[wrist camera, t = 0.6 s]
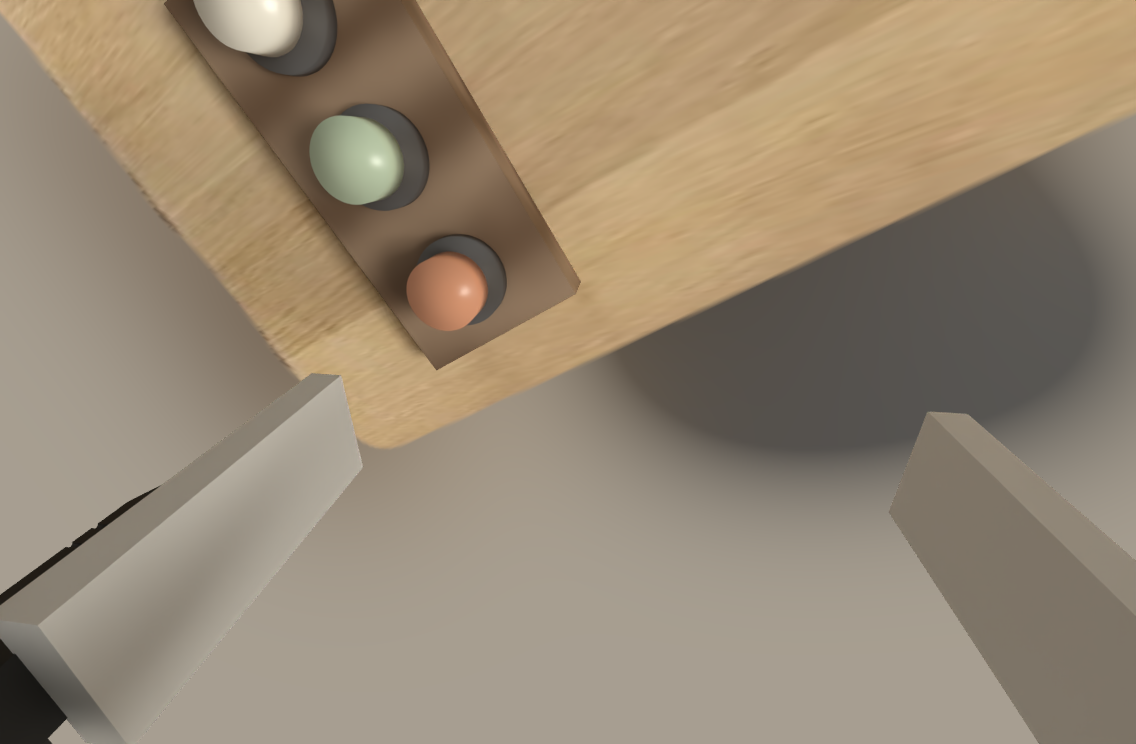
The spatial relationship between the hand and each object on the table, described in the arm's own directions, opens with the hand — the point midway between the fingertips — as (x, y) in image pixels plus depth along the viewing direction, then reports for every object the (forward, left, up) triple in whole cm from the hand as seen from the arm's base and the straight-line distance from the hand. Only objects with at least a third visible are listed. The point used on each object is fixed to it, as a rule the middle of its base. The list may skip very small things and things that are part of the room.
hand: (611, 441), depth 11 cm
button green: (-12, -10, -19) cm, 25 cm away
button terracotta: (-4, -10, -19) cm, 22 cm away
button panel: (-12, -10, -24) cm, 29 cm away
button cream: (-21, -10, -19) cm, 30 cm away
